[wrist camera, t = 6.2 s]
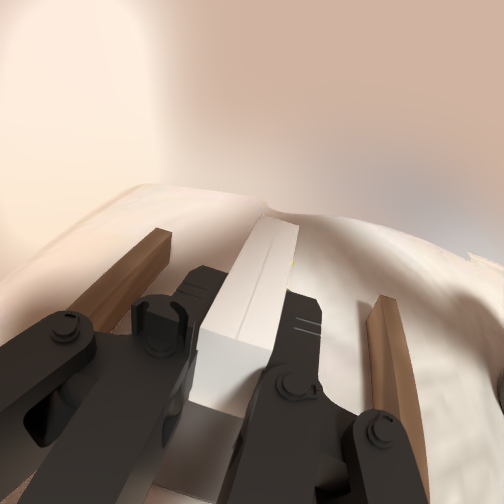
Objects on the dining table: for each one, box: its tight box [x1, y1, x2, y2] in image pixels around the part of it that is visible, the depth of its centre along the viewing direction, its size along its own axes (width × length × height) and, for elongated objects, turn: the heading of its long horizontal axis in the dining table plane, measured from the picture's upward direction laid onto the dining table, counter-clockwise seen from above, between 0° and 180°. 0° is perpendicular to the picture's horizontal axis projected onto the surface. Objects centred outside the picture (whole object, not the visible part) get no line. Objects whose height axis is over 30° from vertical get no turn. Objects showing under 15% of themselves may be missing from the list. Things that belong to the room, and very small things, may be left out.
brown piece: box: [66, 228, 430, 504], centre depth 24 cm, size 28×24×4 cm
